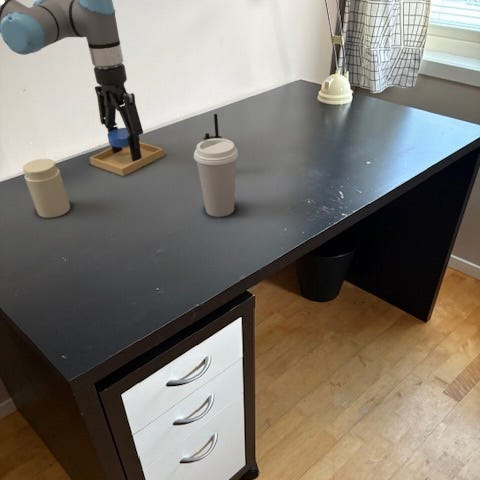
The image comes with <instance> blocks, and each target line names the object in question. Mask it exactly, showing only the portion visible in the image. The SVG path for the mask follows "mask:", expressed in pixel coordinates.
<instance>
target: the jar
mask: <svg viewBox="0 0 480 480" xmlns="http://www.w3.org/2000/svg"><path fill="white" fill-rule="evenodd" d="M22 169H23V173H24V180H25V184H26V185H27V188H28V191H29V194H30V196H31V199H32V202H33V205H34V207H35V210H36V213H37V215H38V216H39V217H42V218H46V219H47V218H49V219H50V218H51V219H52V218H57V217H61V216H62V215H66V213H68V212H69V211H70V209H71V204H70V200H69V196H68V193H67V191H66V187H65V185H64V180H63V178H62V175H61V171H60V169H59V168H58V167H57V163H56V162H55V160H54V159H50V158H38V159H33V160H30V161H28V162H27V163H25V164H24V165H23V167H22Z"/></svg>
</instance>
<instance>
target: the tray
mask: <svg viewBox="0 0 480 480" xmlns="http://www.w3.org/2000/svg"><path fill="white" fill-rule="evenodd" d="M139 143H140V151H141V157H142V158H141V159H139V160H137V161H132V157H131V152H130V147H129V146H128V147H122V151H120V152H117V153H113V151H112V147H110V148H108V149H105V150H103V151H101V152H99V153H97V154H94V155H92V156H90V157H89V161H90V165H91V166H94V167H97V168H99V169H102V170H105V171H108V172H111V173H113V174H117V175H119V176H121V177H125V176H127V175H129V174H131V173H132V172H133V173H134V172H135V171H137V170H139V169H142V167H145V166H146V165H149V164H150V163H153V162H155V161H157V160H159V159H160V158H163V157H164V156H165V154H164V153H165V152H164V148H161V147H158V146H155V145H151V144H148V143H145V142H141V141H139Z"/></svg>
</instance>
